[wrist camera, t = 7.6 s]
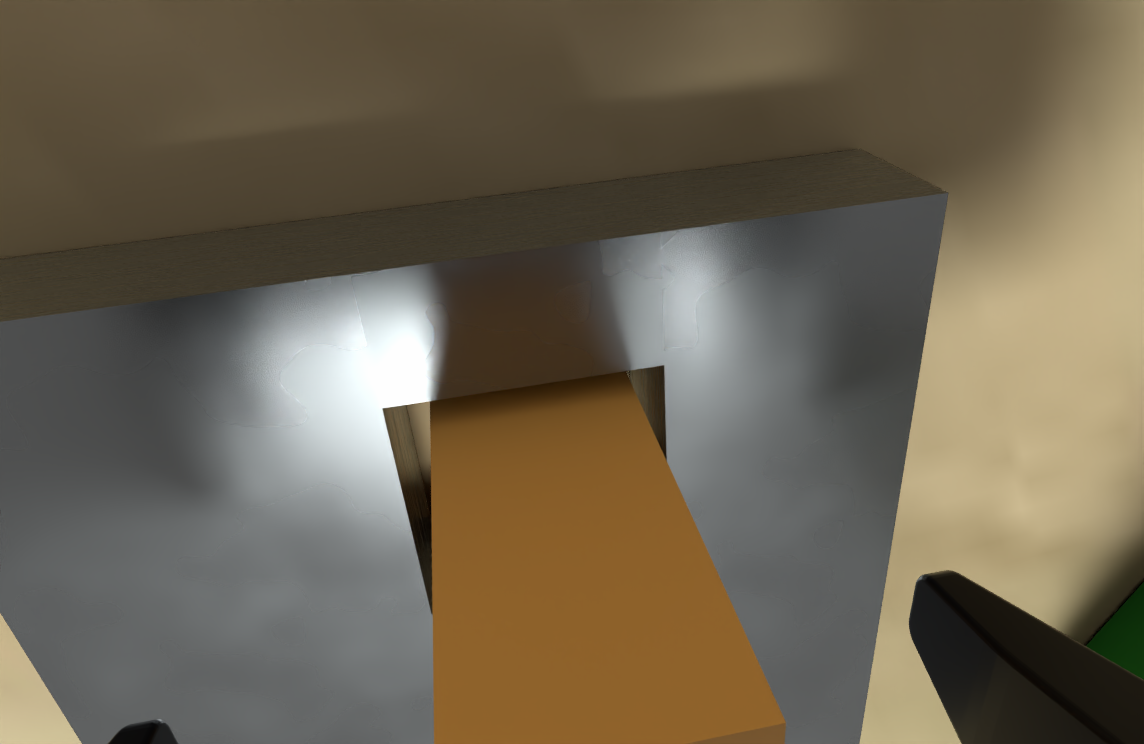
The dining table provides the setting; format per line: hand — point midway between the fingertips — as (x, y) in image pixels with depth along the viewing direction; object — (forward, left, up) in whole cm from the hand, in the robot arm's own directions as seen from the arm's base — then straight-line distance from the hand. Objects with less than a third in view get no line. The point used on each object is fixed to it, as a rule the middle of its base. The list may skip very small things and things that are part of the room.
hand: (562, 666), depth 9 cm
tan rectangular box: (0, 0, -6) cm, 6 cm away
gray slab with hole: (+1, +2, -6) cm, 6 cm away
